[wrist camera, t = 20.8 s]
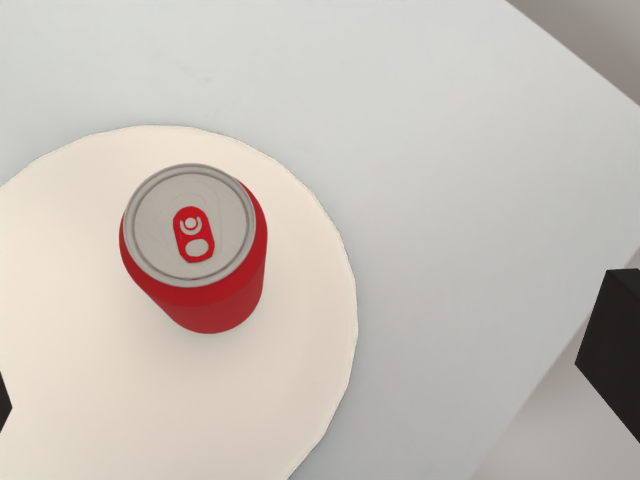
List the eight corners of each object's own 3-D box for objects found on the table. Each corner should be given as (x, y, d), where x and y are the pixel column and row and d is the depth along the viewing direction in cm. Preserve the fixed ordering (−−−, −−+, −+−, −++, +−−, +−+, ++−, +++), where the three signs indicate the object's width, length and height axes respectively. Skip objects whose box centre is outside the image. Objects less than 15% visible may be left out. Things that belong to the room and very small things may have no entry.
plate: (66, 79, 36) (60, 68, 35) (403, 210, 37) (408, 204, 36) (-160, 444, 28) (-178, 446, 27) (271, 607, 29) (272, 616, 28)
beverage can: (247, 225, 34) (247, 136, 22) (274, 318, 32) (288, 274, 21) (148, 250, 32) (94, 169, 21) (171, 348, 31) (126, 319, 19)
